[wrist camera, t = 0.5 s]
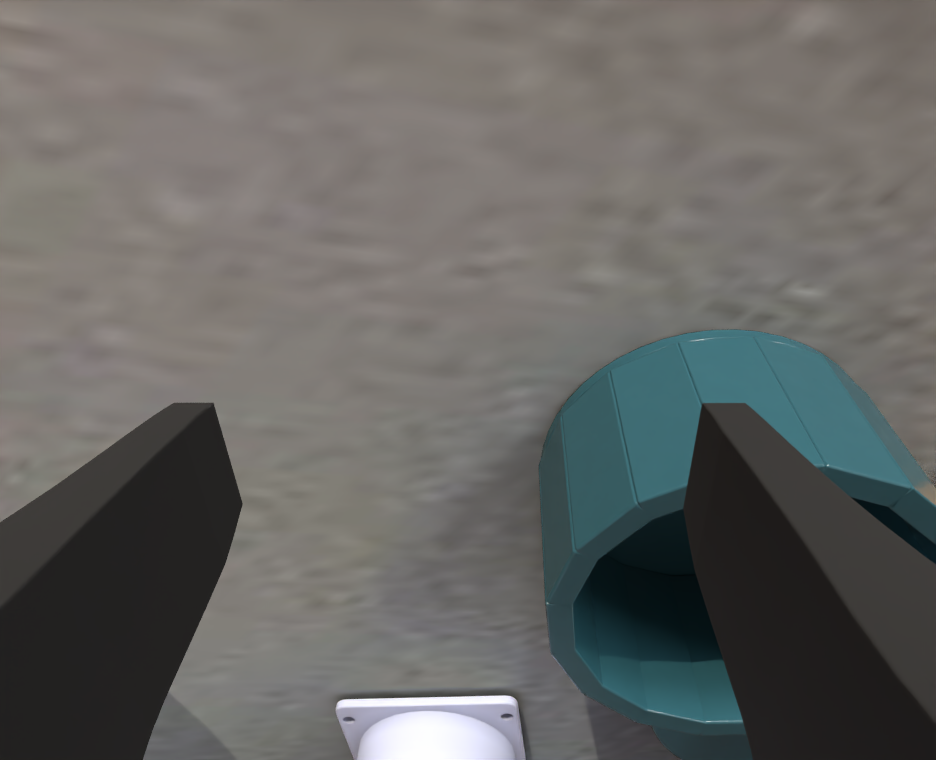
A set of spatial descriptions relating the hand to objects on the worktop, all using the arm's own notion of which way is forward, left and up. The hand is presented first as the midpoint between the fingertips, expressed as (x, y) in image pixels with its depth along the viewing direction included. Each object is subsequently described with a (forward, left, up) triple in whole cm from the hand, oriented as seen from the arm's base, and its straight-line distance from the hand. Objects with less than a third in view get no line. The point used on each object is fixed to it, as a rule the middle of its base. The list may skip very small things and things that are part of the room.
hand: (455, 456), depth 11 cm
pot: (-9, -6, -10) cm, 15 cm away
